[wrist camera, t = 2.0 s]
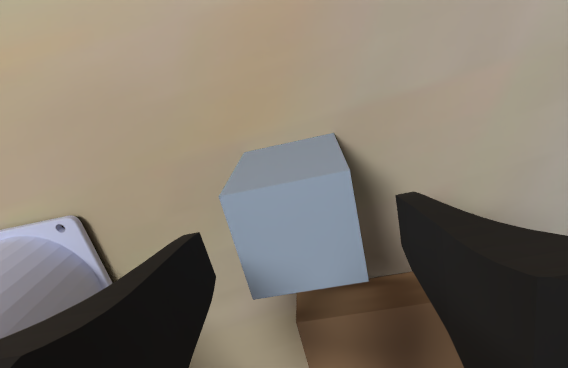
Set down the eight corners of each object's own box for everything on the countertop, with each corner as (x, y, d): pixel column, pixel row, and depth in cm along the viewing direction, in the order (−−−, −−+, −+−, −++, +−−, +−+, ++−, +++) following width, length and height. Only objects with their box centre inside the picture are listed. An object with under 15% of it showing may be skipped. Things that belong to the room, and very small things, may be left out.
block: (266, 229, 18) (253, 299, 13) (244, 152, 16) (218, 196, 11) (348, 214, 17) (368, 281, 12) (333, 132, 16) (349, 170, 11)
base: (325, 394, 22) (328, 434, 20) (296, 290, 19) (296, 322, 17) (461, 378, 21) (482, 418, 19) (455, 264, 18) (478, 295, 16)
